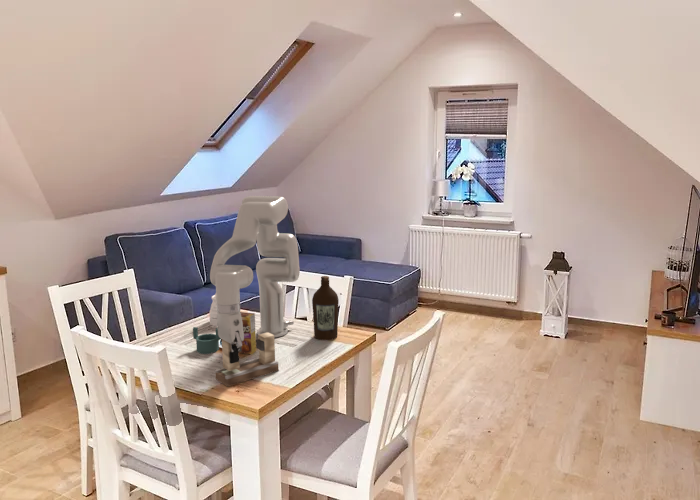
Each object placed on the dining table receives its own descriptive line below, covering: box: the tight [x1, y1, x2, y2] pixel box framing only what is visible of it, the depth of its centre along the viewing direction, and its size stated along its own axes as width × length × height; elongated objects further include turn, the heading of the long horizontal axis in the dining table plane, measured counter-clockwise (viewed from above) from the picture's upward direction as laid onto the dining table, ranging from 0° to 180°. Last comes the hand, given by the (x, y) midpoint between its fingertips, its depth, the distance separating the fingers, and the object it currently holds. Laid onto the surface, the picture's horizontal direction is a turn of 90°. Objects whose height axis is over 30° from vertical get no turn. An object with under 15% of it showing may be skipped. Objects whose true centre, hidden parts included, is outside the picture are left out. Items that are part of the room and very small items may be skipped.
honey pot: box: [208, 293, 218, 328], centre depth 258 cm, size 13×13×18 cm
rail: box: [214, 332, 280, 387], centre depth 202 cm, size 20×8×12 cm, turn 130°
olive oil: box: [311, 275, 340, 341], centre depth 238 cm, size 11×11×25 cm
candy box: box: [239, 311, 257, 355], centre depth 223 cm, size 9×4×15 cm, turn 73°
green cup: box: [192, 326, 221, 355], centre depth 226 cm, size 9×9×9 cm
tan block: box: [221, 339, 242, 371], centre depth 198 cm, size 5×4×10 cm
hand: (231, 359), depth 198 cm, fingers closed on tan block, 4 cm apart
